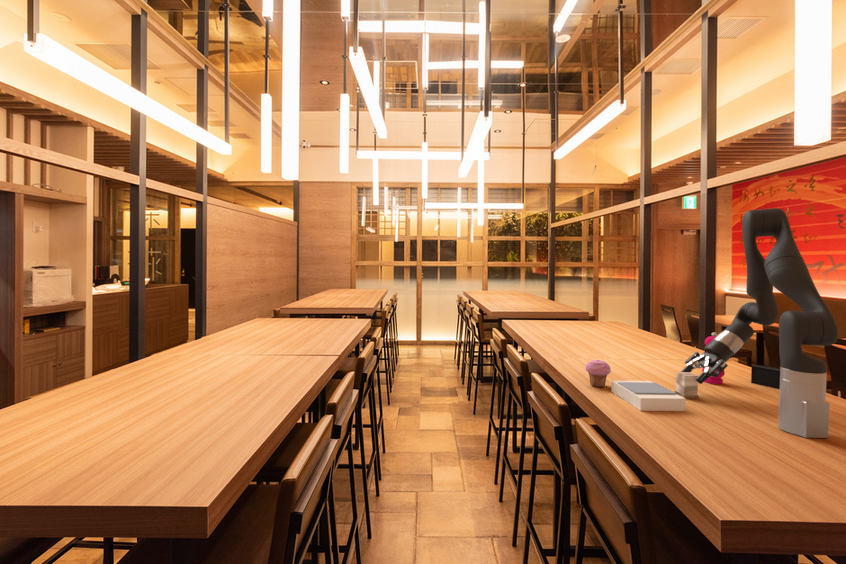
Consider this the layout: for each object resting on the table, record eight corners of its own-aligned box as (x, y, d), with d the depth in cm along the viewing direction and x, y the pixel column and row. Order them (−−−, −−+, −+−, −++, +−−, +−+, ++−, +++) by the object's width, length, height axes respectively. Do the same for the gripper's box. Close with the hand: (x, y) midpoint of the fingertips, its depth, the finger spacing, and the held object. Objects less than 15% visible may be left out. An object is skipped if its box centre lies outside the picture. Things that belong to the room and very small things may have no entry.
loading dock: (685, 411, 125) (685, 397, 125) (640, 410, 125) (640, 396, 125) (649, 391, 145) (650, 379, 145) (611, 391, 145) (611, 379, 145)
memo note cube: (698, 398, 137) (698, 375, 137) (683, 398, 137) (684, 375, 137) (688, 394, 142) (689, 372, 142) (674, 394, 142) (675, 372, 142)
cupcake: (585, 387, 149) (586, 361, 149) (584, 381, 158) (584, 356, 157) (611, 390, 146) (612, 363, 146) (609, 383, 155) (609, 358, 154)
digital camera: (791, 388, 150) (791, 370, 150) (783, 390, 148) (784, 371, 147) (758, 381, 159) (758, 364, 159) (751, 383, 157) (751, 365, 157)
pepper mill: (723, 381, 158) (724, 331, 158) (725, 386, 152) (726, 334, 152) (701, 379, 162) (702, 330, 162) (702, 383, 156) (703, 332, 156)
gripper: (702, 335, 146) (670, 365, 147) (731, 342, 132) (695, 376, 132) (716, 349, 146) (684, 380, 147) (747, 358, 132) (711, 392, 132)
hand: (689, 378), depth 140 cm, fingers open, 8 cm apart
